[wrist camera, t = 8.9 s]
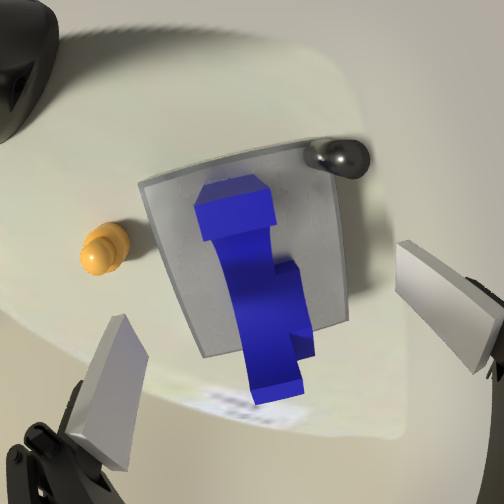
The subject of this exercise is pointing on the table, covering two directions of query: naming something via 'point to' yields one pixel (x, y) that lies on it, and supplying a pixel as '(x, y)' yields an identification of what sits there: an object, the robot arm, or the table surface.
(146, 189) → the grey square plate
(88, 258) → the chess pawn
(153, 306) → the table surface
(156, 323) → the table surface
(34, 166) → the table surface
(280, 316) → the cable clip
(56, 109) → the table surface
